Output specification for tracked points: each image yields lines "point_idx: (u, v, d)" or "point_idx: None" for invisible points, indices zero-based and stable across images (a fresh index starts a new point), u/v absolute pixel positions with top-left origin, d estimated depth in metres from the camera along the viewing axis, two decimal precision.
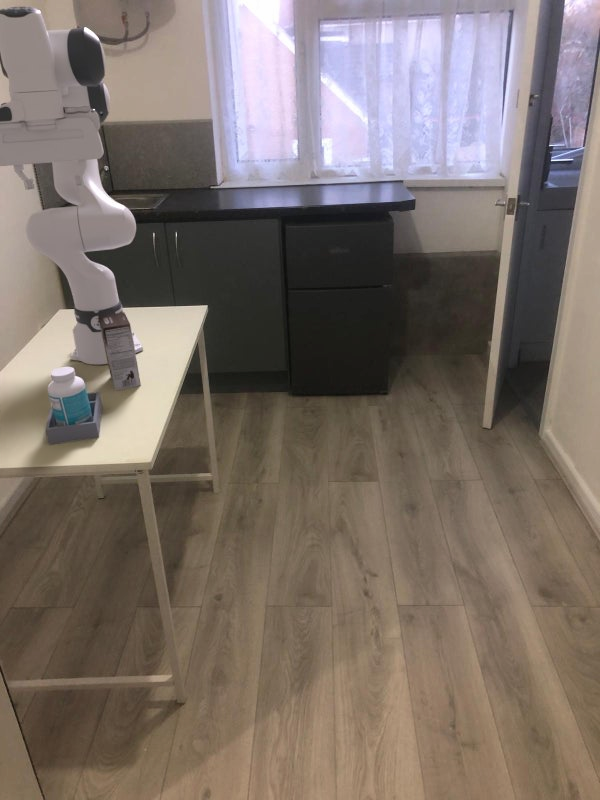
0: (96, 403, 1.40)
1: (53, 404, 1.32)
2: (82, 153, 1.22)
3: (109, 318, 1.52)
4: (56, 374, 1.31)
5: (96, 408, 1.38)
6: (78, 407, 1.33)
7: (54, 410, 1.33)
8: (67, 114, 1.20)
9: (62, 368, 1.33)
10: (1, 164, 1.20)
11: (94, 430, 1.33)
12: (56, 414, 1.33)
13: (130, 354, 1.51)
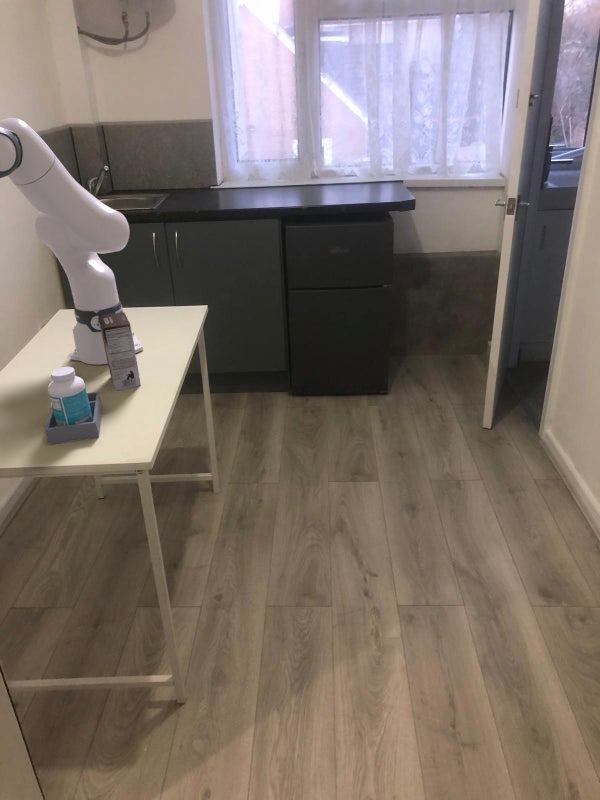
0: (96, 403, 1.40)
1: (53, 404, 1.32)
2: None
3: (109, 318, 1.52)
4: (56, 374, 1.31)
5: (96, 408, 1.38)
6: (78, 407, 1.33)
7: (54, 410, 1.33)
8: None
9: (62, 368, 1.33)
10: None
11: (94, 430, 1.33)
12: (56, 414, 1.33)
13: (130, 354, 1.51)
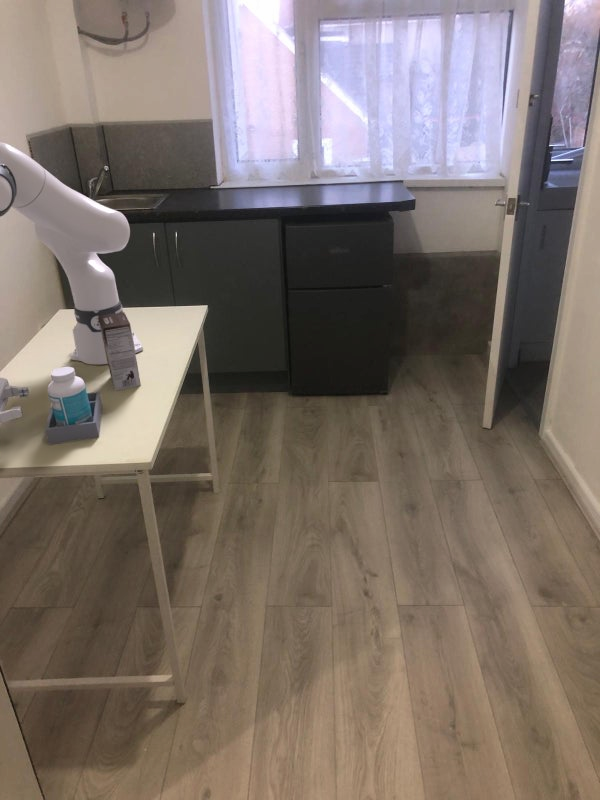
0: (96, 403, 1.40)
1: (53, 404, 1.32)
2: None
3: (109, 318, 1.52)
4: (56, 374, 1.31)
5: (96, 408, 1.38)
6: (78, 407, 1.33)
7: (54, 410, 1.33)
8: None
9: (62, 368, 1.33)
10: None
11: (94, 430, 1.33)
12: (56, 414, 1.33)
13: (130, 354, 1.51)
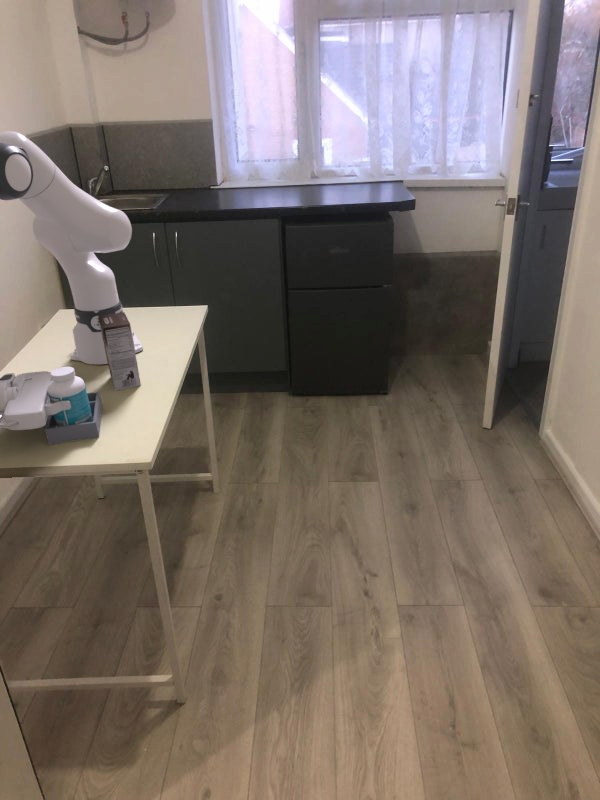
0: (96, 403, 1.40)
1: None
2: None
3: (109, 318, 1.52)
4: (56, 374, 1.31)
5: (96, 408, 1.38)
6: (78, 407, 1.33)
7: None
8: None
9: (62, 368, 1.33)
10: None
11: (94, 430, 1.33)
12: (56, 414, 1.33)
13: (131, 354, 1.51)
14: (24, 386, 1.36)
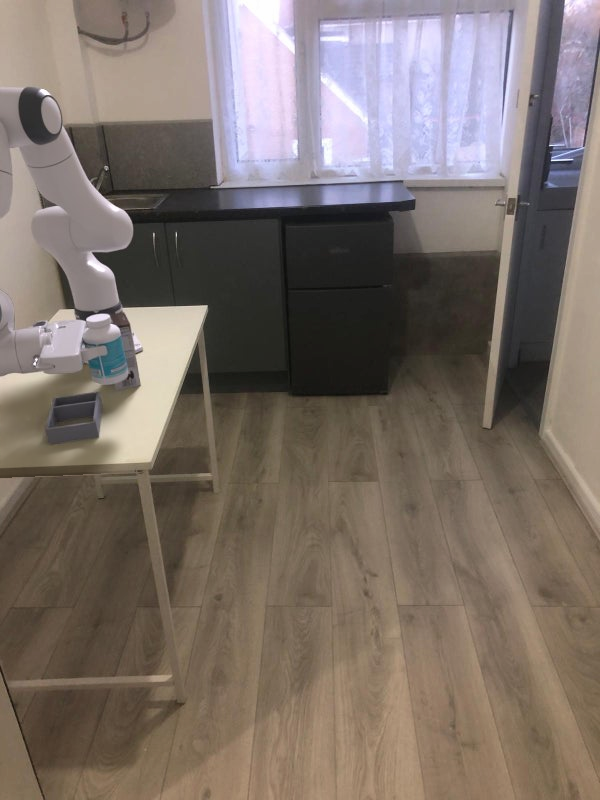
0: (96, 403, 1.40)
1: None
2: None
3: None
4: (92, 320, 1.28)
5: (96, 408, 1.38)
6: (114, 355, 1.30)
7: None
8: None
9: (97, 315, 1.30)
10: None
11: (94, 430, 1.33)
12: (91, 362, 1.30)
13: (131, 354, 1.51)
14: (58, 333, 1.32)
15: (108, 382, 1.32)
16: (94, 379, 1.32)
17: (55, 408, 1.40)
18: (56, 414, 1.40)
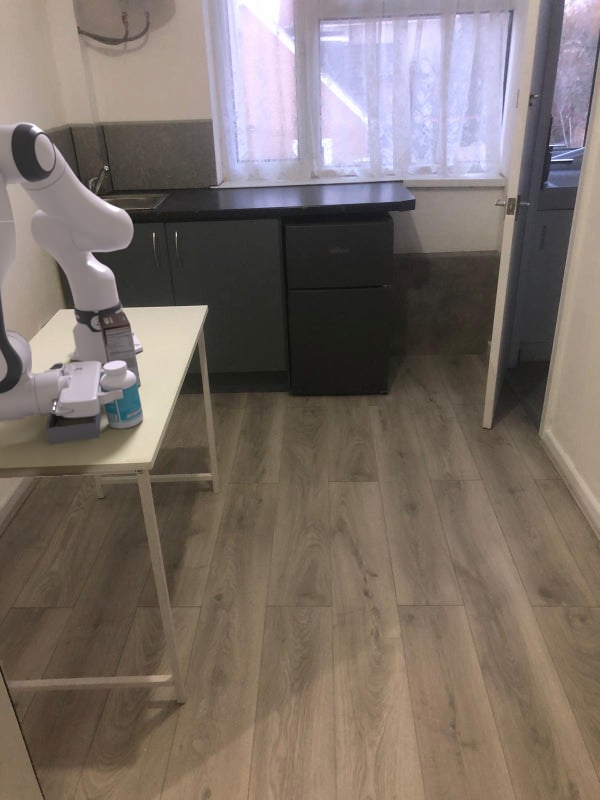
0: None
1: None
2: None
3: (109, 318, 1.52)
4: (109, 368, 1.32)
5: None
6: (130, 400, 1.34)
7: None
8: None
9: (114, 362, 1.35)
10: None
11: (94, 430, 1.33)
12: (108, 407, 1.35)
13: (130, 354, 1.51)
14: (75, 375, 1.37)
15: (124, 426, 1.36)
16: (110, 423, 1.37)
17: None
18: None
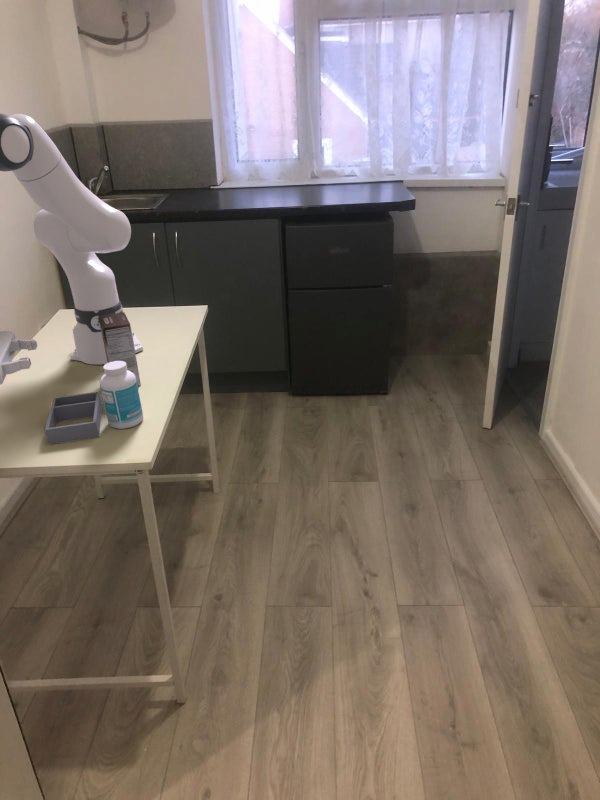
0: (96, 403, 1.40)
1: (105, 398, 1.34)
2: None
3: (109, 318, 1.52)
4: (109, 368, 1.32)
5: (96, 408, 1.38)
6: (130, 400, 1.34)
7: (106, 403, 1.35)
8: None
9: (114, 362, 1.35)
10: None
11: (94, 430, 1.33)
12: (108, 407, 1.35)
13: (131, 354, 1.51)
14: None
15: (124, 426, 1.36)
16: (110, 423, 1.37)
17: (55, 408, 1.40)
18: (56, 414, 1.40)
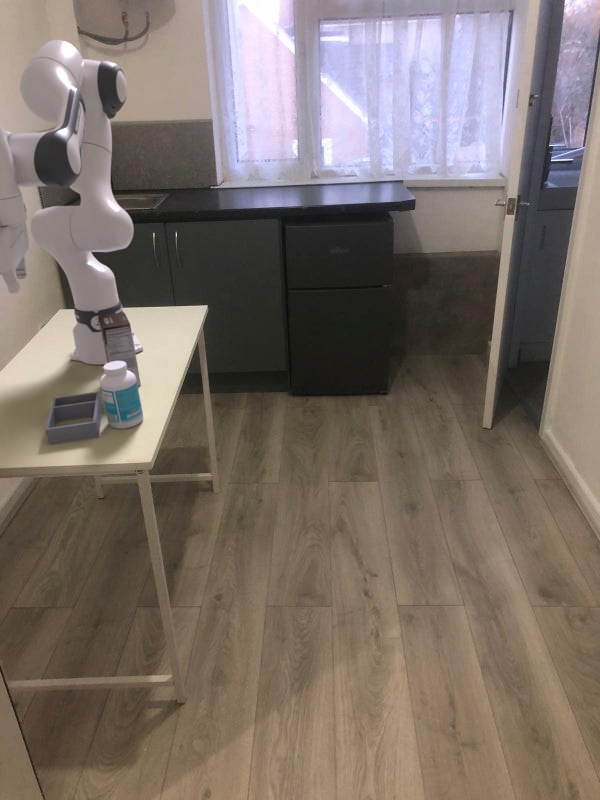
0: (96, 403, 1.40)
1: (105, 398, 1.34)
2: None
3: (109, 318, 1.52)
4: (109, 368, 1.32)
5: (96, 408, 1.38)
6: (130, 400, 1.34)
7: (106, 403, 1.35)
8: None
9: (114, 362, 1.35)
10: None
11: (94, 430, 1.33)
12: (108, 407, 1.35)
13: (130, 354, 1.51)
14: None
15: (124, 426, 1.36)
16: (110, 423, 1.37)
17: (55, 408, 1.40)
18: (56, 414, 1.40)
